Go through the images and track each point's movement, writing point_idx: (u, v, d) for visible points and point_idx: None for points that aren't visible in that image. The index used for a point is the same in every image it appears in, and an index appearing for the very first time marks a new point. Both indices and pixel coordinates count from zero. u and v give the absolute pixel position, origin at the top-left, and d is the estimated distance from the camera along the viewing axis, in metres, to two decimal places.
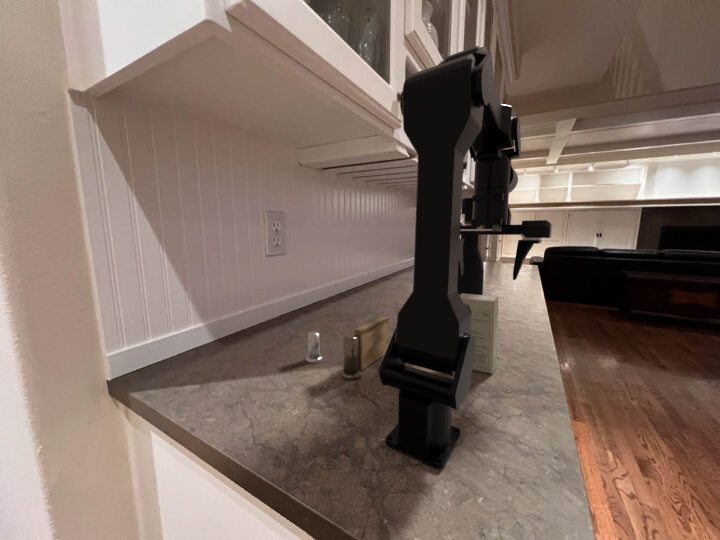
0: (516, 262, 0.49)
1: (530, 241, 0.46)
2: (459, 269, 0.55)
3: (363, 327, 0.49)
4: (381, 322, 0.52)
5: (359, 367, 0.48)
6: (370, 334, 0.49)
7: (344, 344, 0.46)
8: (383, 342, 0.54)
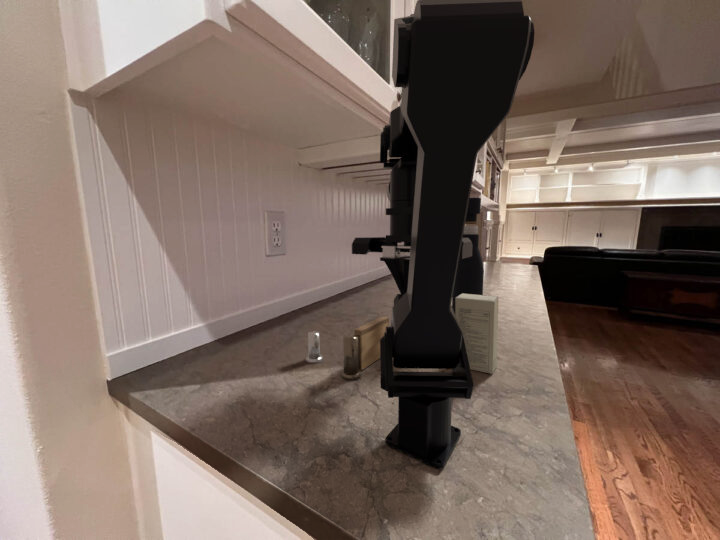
0: (405, 282, 0.45)
1: None
2: (402, 293, 0.47)
3: (363, 327, 0.49)
4: (381, 322, 0.52)
5: (359, 367, 0.48)
6: (370, 334, 0.49)
7: (344, 344, 0.46)
8: None
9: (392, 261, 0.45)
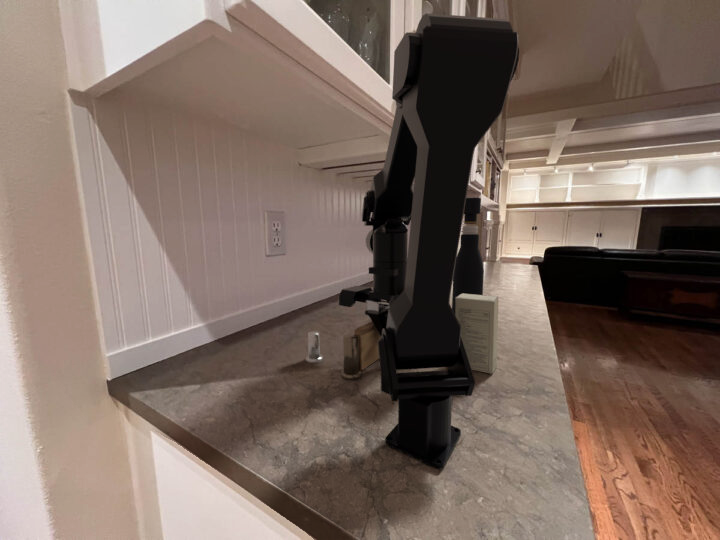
0: None
1: None
2: None
3: (363, 327, 0.49)
4: None
5: (359, 367, 0.48)
6: (370, 334, 0.49)
7: (344, 344, 0.46)
8: None
9: (375, 316, 0.48)
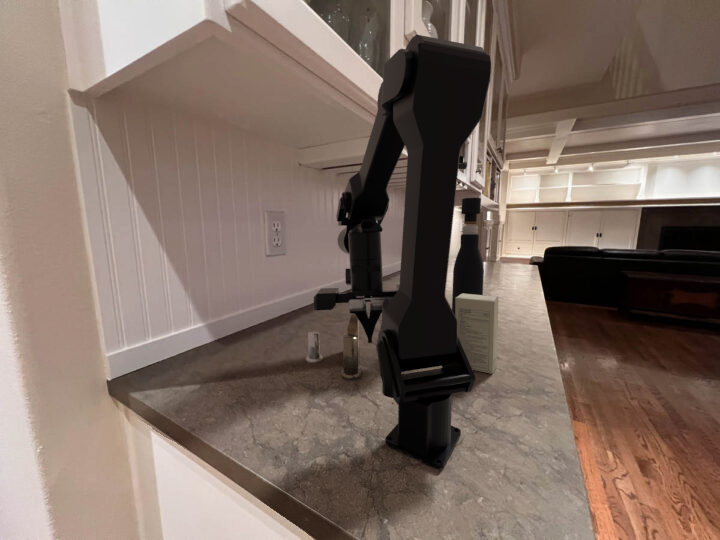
0: (370, 328, 0.52)
1: (380, 310, 0.50)
2: (370, 337, 0.53)
3: (351, 326, 0.50)
4: (357, 319, 0.54)
5: None
6: None
7: (344, 344, 0.46)
8: (358, 338, 0.56)
9: (363, 313, 0.50)
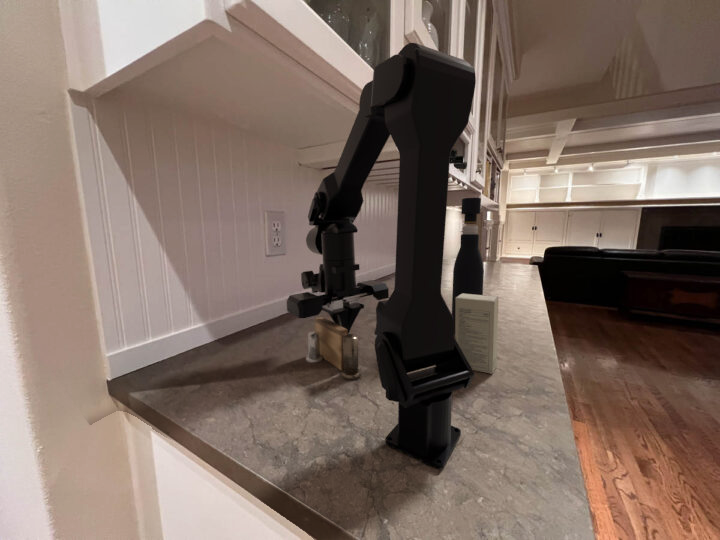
0: (348, 327, 0.52)
1: (360, 307, 0.52)
2: None
3: (337, 327, 0.49)
4: (328, 321, 0.53)
5: None
6: None
7: (344, 344, 0.46)
8: None
9: (346, 312, 0.50)
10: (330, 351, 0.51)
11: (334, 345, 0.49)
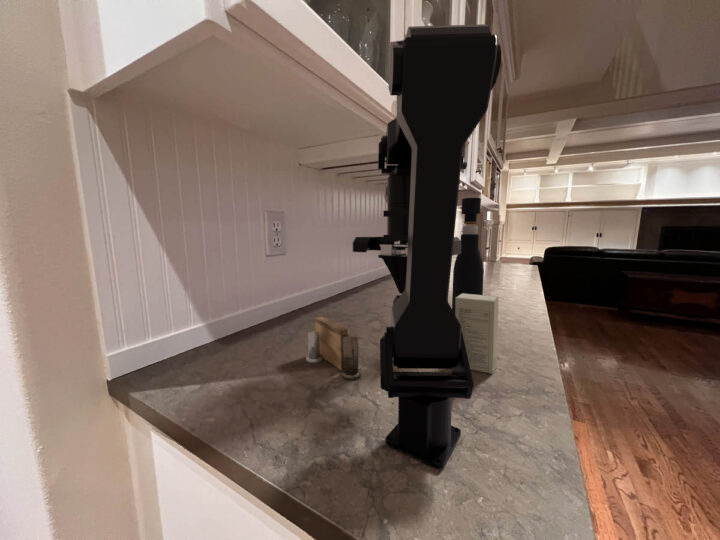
0: (401, 277, 0.50)
1: None
2: (398, 287, 0.52)
3: (337, 327, 0.49)
4: (328, 321, 0.53)
5: None
6: None
7: (344, 344, 0.46)
8: None
9: (389, 258, 0.50)
10: (330, 351, 0.51)
11: (334, 345, 0.49)
